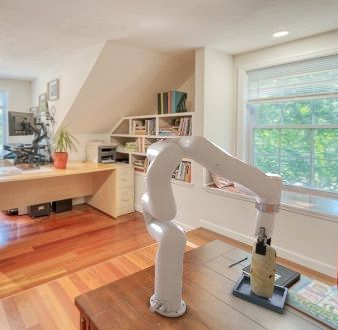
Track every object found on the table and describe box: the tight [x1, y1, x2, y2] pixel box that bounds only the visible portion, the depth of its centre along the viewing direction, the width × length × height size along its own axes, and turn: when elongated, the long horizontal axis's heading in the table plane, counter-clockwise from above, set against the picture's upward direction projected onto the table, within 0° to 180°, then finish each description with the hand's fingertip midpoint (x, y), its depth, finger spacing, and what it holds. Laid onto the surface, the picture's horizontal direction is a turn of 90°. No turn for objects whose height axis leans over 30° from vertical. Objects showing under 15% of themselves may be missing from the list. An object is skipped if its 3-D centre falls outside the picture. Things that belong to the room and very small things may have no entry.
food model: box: [249, 241, 277, 298], centre depth 98 cm, size 10×7×20 cm
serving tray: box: [232, 273, 289, 315], centre depth 100 cm, size 16×16×2 cm
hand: (262, 250), depth 97 cm, fingers open, 9 cm apart
